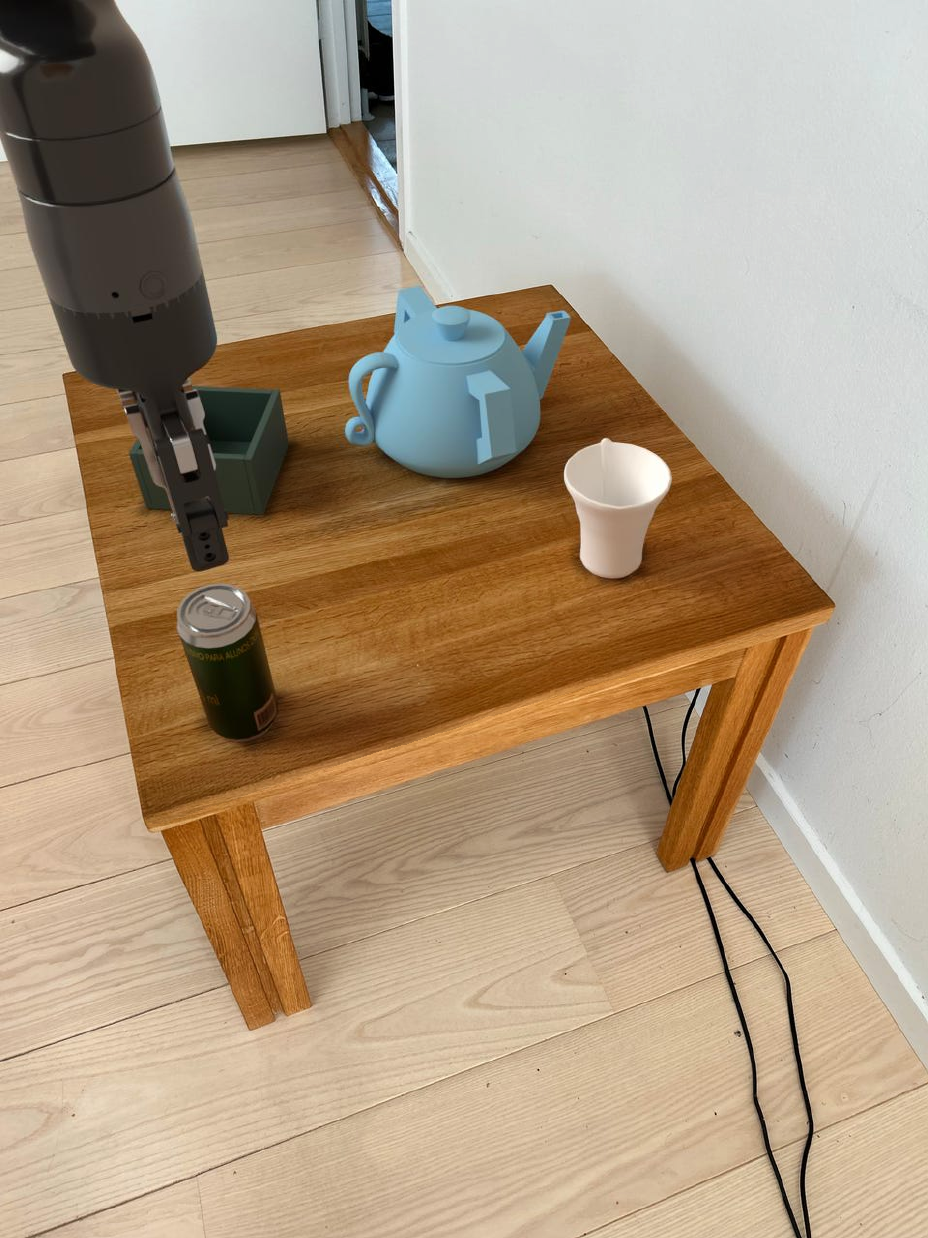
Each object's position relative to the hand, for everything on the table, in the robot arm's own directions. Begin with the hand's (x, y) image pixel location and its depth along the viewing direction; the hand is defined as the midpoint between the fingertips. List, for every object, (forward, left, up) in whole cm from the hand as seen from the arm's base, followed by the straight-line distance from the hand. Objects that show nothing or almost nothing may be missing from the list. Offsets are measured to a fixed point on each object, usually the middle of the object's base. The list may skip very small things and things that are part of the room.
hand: (193, 521), depth 57 cm
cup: (+28, +20, -20) cm, 40 cm away
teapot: (+13, +38, -20) cm, 45 cm away
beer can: (0, 0, -20) cm, 20 cm away
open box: (-10, +29, -20) cm, 37 cm away
